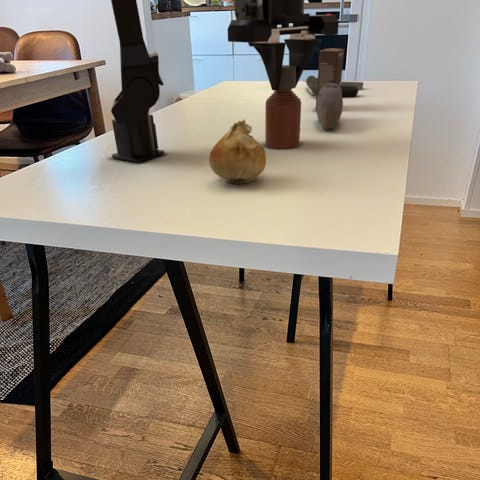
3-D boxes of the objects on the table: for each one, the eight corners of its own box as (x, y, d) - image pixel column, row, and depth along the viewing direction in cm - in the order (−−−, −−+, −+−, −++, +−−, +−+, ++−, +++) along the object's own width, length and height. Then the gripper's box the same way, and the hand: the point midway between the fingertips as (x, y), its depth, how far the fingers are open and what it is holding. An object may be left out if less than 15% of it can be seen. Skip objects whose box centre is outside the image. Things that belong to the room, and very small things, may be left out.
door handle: (358, 76, 137) (302, 74, 137) (374, 86, 121) (311, 84, 120) (356, 88, 139) (301, 87, 139) (372, 100, 122) (309, 99, 122)
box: (334, 111, 107) (338, 50, 101) (314, 110, 109) (317, 50, 102) (340, 106, 112) (345, 47, 105) (321, 106, 114) (325, 48, 107)
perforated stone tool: (340, 134, 89) (343, 93, 85) (311, 134, 90) (313, 93, 86) (342, 118, 101) (345, 81, 98) (317, 118, 102) (319, 82, 99)
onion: (202, 178, 70) (197, 120, 65) (252, 170, 72) (251, 113, 68) (222, 194, 64) (218, 130, 59) (275, 184, 66) (276, 123, 62)
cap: (269, 86, 81) (269, 65, 79) (292, 85, 81) (293, 64, 80) (274, 89, 78) (274, 68, 76) (298, 88, 78) (298, 67, 76)
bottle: (288, 150, 81) (290, 74, 75) (258, 146, 84) (258, 72, 78) (305, 142, 85) (309, 70, 79) (276, 139, 88) (277, 68, 82)
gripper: (294, -24, 81) (292, 79, 90) (203, -24, 72) (210, 91, 80) (344, -28, 73) (336, 84, 82) (250, -29, 64) (252, 98, 73)
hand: (284, 89), depth 80 cm, fingers closed on cap, 4 cm apart
